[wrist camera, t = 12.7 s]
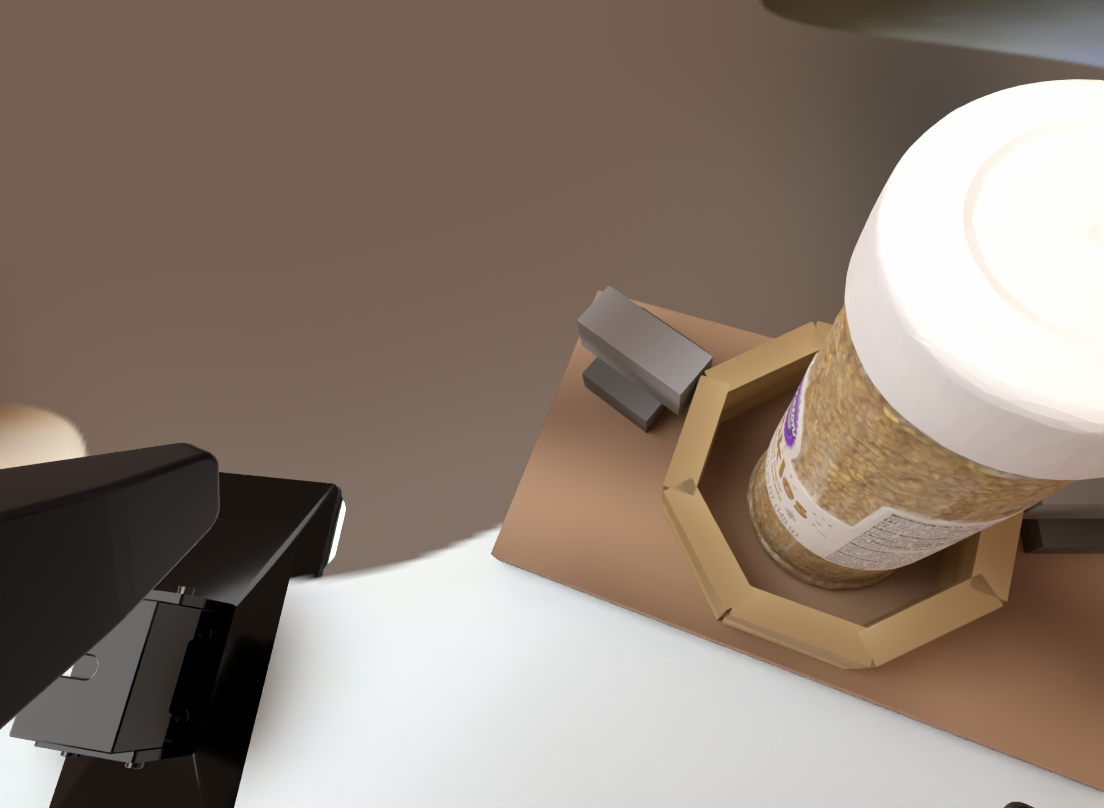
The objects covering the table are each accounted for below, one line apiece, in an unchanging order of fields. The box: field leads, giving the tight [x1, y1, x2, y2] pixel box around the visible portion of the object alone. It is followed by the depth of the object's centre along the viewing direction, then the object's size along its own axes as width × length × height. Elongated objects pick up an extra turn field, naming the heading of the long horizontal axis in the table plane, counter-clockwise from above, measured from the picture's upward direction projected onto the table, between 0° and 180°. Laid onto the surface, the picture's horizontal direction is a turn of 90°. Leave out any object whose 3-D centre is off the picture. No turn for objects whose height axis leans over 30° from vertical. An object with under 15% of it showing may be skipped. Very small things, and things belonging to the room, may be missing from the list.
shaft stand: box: [491, 286, 1104, 792], centre depth 20 cm, size 9×16×4 cm, turn 69°
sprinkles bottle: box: [746, 79, 1104, 590], centre depth 14 cm, size 5×5×13 cm
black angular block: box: [9, 472, 346, 808], centre depth 20 cm, size 12×7×5 cm, turn 172°
